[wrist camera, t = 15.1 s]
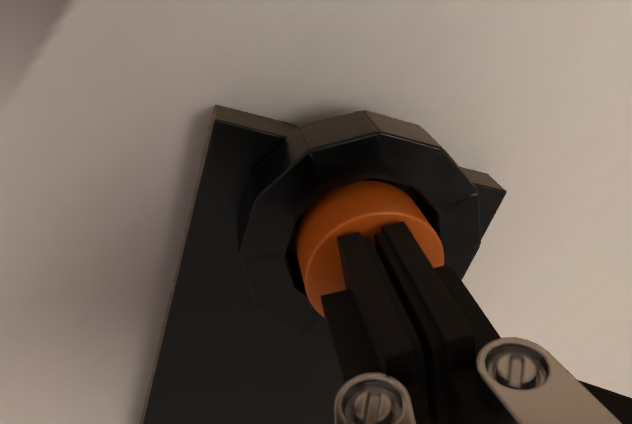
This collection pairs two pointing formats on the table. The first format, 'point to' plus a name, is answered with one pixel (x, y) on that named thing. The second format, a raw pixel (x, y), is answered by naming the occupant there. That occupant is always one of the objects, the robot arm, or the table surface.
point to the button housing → (286, 261)
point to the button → (349, 217)
